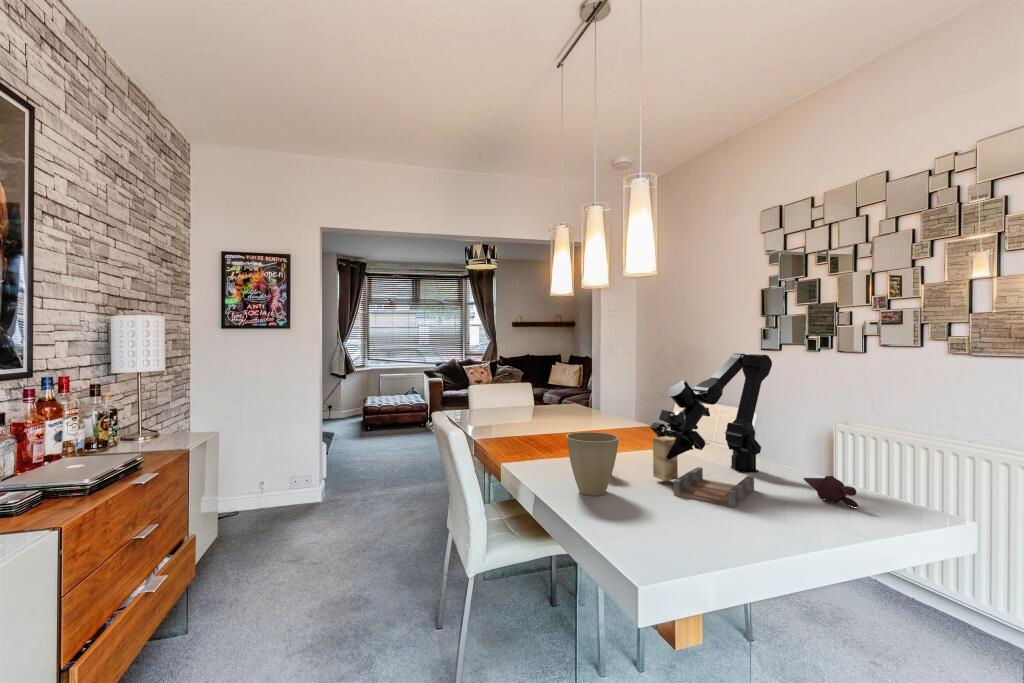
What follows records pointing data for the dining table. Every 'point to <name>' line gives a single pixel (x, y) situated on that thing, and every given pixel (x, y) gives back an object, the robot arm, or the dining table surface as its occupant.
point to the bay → (712, 489)
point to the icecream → (832, 490)
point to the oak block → (664, 459)
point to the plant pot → (592, 460)
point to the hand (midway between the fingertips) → (661, 456)
